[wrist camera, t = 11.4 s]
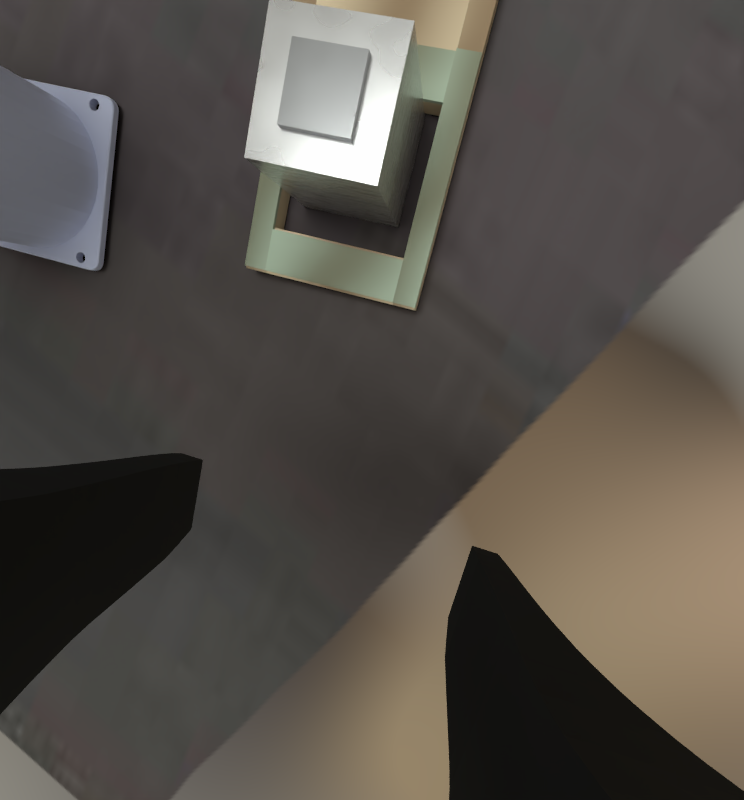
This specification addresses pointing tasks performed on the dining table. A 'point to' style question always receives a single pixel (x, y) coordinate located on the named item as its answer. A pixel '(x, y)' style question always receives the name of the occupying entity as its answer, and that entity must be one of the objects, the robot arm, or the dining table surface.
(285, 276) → the wooden peg board
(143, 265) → the dining table surface
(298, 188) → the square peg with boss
